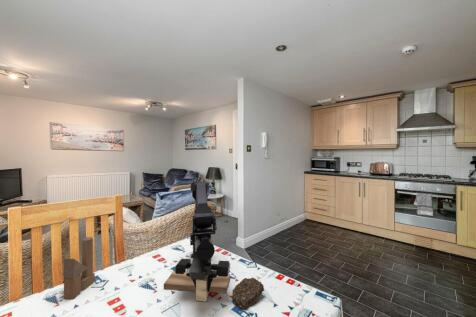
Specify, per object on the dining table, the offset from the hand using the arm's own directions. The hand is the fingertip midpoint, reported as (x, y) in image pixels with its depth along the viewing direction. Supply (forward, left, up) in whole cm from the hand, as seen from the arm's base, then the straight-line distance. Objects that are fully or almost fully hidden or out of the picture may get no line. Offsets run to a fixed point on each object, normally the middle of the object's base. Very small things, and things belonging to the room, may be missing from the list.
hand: (203, 291), depth 74 cm
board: (-7, -4, -2) cm, 9 cm away
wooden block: (+1, -47, -2) cm, 47 cm away
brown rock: (-1, +16, -2) cm, 16 cm away
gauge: (-4, 0, -2) cm, 5 cm away
